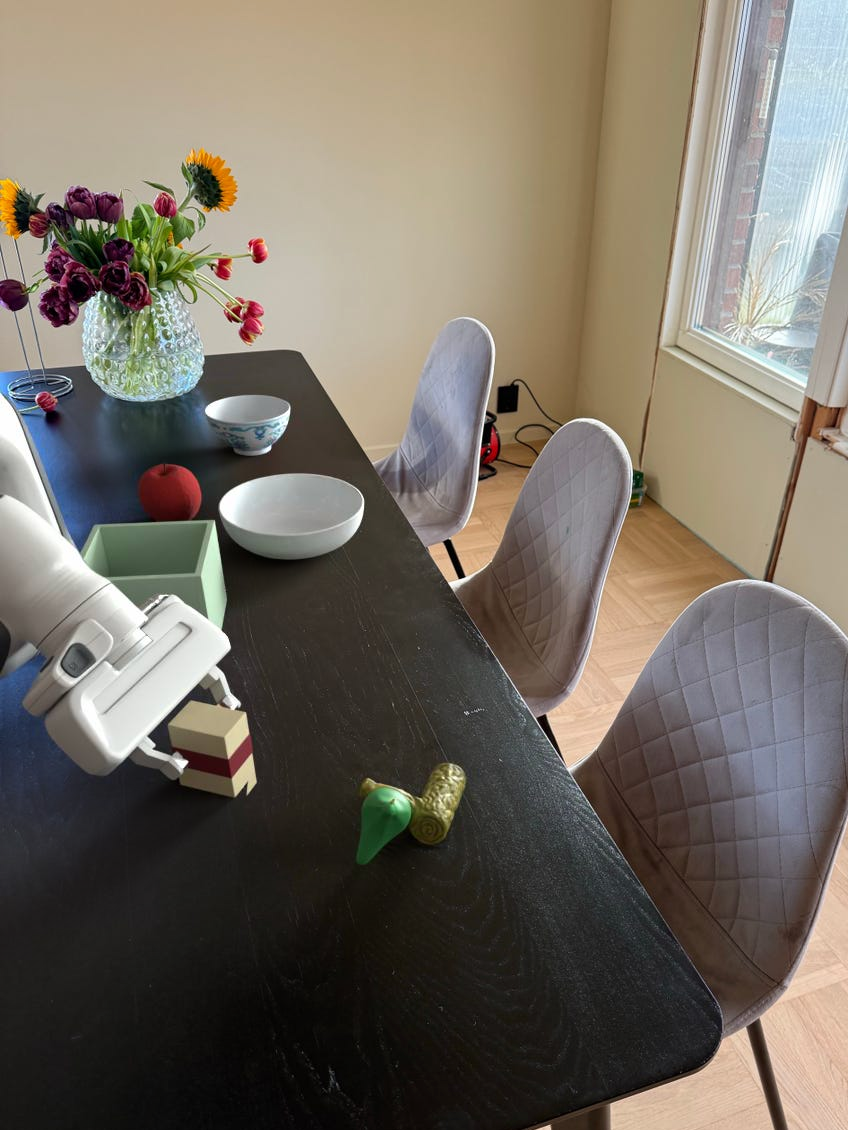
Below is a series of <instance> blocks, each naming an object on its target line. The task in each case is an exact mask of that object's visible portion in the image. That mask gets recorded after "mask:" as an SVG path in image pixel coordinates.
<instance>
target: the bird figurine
mask: <svg viewBox="0 0 848 1130" xmlns="http://www.w3.org/2000/svg"><path fill="white" fill-rule="evenodd" d="M466 787H467V776H466V773H465V771H464V770H463V769H462V768H461V766H459V765H457V764H453V763H452V762H451V763H450V762H443V763H440V764H438V765H436V766H435V767H434V768H433V770H432V772H431V773H430V774H429V778H428V780H427V783H426V784H425V786H424V789H423V791H422V793H421V796H420V797H418V796H414V795H411V794H410V793H409V792H406V791H405V790H404V789H401V788H398V787H395V786H391V785H388V784H384V783H377V782H376V781H374V780H372V779H371V778H368V777H367V778H364V780H363V781H362V783H361V785H360V788H359V792H358V793H359V797H360V798H362V799H364V801H363V803H362V806H361V812H360V814H361V829H360V836H359V842H358V845H357V852H356V858H355V862H356V863H357V864H358V865H360V866H365V865H366V864H368V863H370V861H371V860H372V859H373V858H374V857H375V856H376V855H377V854H378V853H379V852H380V851H381V849H382V848H384V846H385V845H387V844H388V843H389V842H390V841H392V839H394V838H395V837H396V836H397V835H399V834H400V833H402V832H403V831H404V830H405V829H406V828H407V827H408V828H409V831H410V833H411V835H412V836H413V837H414V838H415V839H416V840H418V842H420V843H421V844H424V845H430V846H432V845H436V844H438V843H440V842H442V841H443V840H444V839H446V836H447V832H448V831H449V829H450V827H451V824H452V821H453V820H454V816H455V812H456V810H457V809H458V807H459V805H460V800H461V799H462V796H463V793H464V791H465V788H466Z"/></svg>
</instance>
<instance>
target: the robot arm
mask: <svg viewBox="0 0 848 1130" xmlns="http://www.w3.org/2000/svg"><path fill="white" fill-rule="evenodd" d="M80 553H81V552H80V551H79V549H78V548H77V546H76V544H75V542H74V541H73V538H72V537H71V535H70V532H69V530H68V527H67V525H66V523H65V520H64V518H63V514H62V512H61V509H60V507H59V504H58V502H57V499H56V496H55V493H54V491H53V489H52V486H51V482H50V480H49V477H48V475H47V471H46V469H45V467H44V464H43V461H42V459H41V457H40V454H39V451H38V449H37V446H36V444H35V441H34V438H33V437H32V434H31V432H30V430H29V427H28V425H27V423H26V421H25V419H24V417H23V415H22V414H21V412H20V411H19V409H18V408H17V406H16V405H15V403H14V402H13V401H12V400H11V399H10V398H9V397H8V396H7V395H6V394H4V393H2V392H1V391H0V681H1V680H3V679H5V678H6V677H8V676H10V675H11V674H12V673H13V672H15V671H17V670H19V668H21V667H22V666H24V665H26V663H28V662H30V661H31V660H33V659H35V658H36V657H37V656H38V655H40V654H41V655H42V656H43V657H44V658H45V660H44V661H43V664H42V666H41V668H40V669H39V671H38V673H37V675H36V676H35V678H34V680H33V681H32V683H31V685H30V687H29V688H28V690H27V692H26V694H25V695H24V697H23V699H22V702H21V703H22V704H21V705H22V707H23V708H24V710H25V711H26V712H27V713H29V714H30V715H32V716H33V717H36V718H41V717H43V716H45V718H44V727H45V730H46V732H47V734H48V735H49V737H50V738H51V739H52V741H53V742H54V743H55V744H56V745H57V746H58V747H59V749H61V751H63V752H64V753H65V754H66V755H67V757H68V758H70V759H71V760H72V761H73V762H74V763H75V764H76V765H77V766H78V767H80V769H82V770H83V771H84V772H85V773H87V774H88V775H90V776H91V775H92V776H97V777H107V776H108V775H109V774H110V773H112V772H113V771H114V770H115V769H117V767H119V765H121V764H122V763H123V762H124V761H125V760H126V759H127V758H129V759H130V760H131V761H132V762H133V763H134V764H135V765H138V766H143V767H147V768H150V769H155V770H159V771H161V773H163V774H164V775H165V776H166V778H168V779H169V780H171V781H175V780H177V779H179V776H181V774H182V773H183V772H184V771H185V770H186V768H187V767H188V766H189V762H188V761H187V760H186V759H183V757H182V755H181V754H180V753H178V752H177V751H176V752H175V753H174V754H173V753H172V754H171V755H170V754H167V753H164V752H161V751H158V750H155V749H154V748H155V747H156V743H155V742H154V741H152V740H151V739H150V737H148V736H149V735H150V734H151V733H152V732H153V731H154V730H155V728H157V727H158V725H160V724H161V722H162V721H163V720H164V719H165V718H166V717H167V716H169V714H170V713H171V712H172V711H173V710H174V709H175V708H176V707H177V706H178V705H179V704H180V703H181V702H182V701H183V700H184V699H185V697H186V696H187V695H188V694H189V693H190V692H191V691H192V690H193V689H194V688H195V687H196V686H198V685H199V686H200V687H202V688H203V689H204V690H207V689H209V690H210V692H211V694H212V697H213V698H214V700H215V703H216V704H215V705H214V706H219V707H223V708H228V709H233V710H237V711H239V710H238V709H240V708H241V706H242V703H241V701H240V700H239V699H238V698H237V697H236V696H234V694H232V693H231V690H230V687H229V684H228V682H227V678H226V676H225V673H224V672H223V671H222V670H221V669H220V668H219V667H218V666H217V665H218V664H219V662H220V661H221V660H222V659H223V658H224V657H225V656H226V655H227V654H228V653H229V652H230V650H231V649H232V646H231V643H230V640H229V637H228V636H227V635H226V633H224V632H223V631H222V630H220V629H219V628H217V627H216V626H215V625H214V624H213V623H211V622H210V621H209V620H208V619H206V618H205V617H204V616H203V615H201V614H200V613H199V612H197V611H196V610H194V609H193V608H191V607H190V606H188V605H186V604H184V603H183V602H182V601H181V600H180V599H179V598H178V597H177V596H175V595H170V594H159V593H156V594H154V595H152V596H151V597H150V598H149V599H148V600H147V601H146V602H145V603H144V604H142V605H140V606H139V607H138V608H137V607H136V606H135V605H134V604H133V603H132V602H131V601H130V600H129V599H128V598H127V597H126V596H125V595H124V594H123V593H122V592H121V591H120V590H119V589H118V588H116V587H115V586H114V585H113V584H112V583H111V582H110V581H109V580H108V579H106V578H104V577H102V576H101V575H99V574H97V573H95V572H94V571H93V570H91V569H90V568H89V567H88V565H87V564H86V562H85V560H84V559H83V557H82V556H81V554H80ZM163 598H166V599H165V600H164V601H163ZM162 601H163V602H162ZM161 602H162V603H161ZM153 608H155V609H153ZM152 609H153V610H152ZM151 610H152V611H151ZM150 611H151V612H150ZM149 612H150V613H149Z"/></svg>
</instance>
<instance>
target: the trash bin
mask: <svg viewBox="0 0 848 1130" xmlns="http://www.w3.org/2000/svg"><path fill="white" fill-rule="evenodd" d="M219 546H220V545H219V541H218V532H217V527H216V521H215V519H205V520H190V521H176V522H158V521H155V522H153V521H151V522H130V523H129V522H127V523H105V524H103V523H102V524H94V525H93V526H92V529H90V533H89V535H88V536H87V539H86V540H85V543H84V545H83V546H82V549H81V551H80V552H79V553H80V554H81V556H82V557H83V559H84V560H85V562H86V564H87V565H88V567H89V568H90V569H91V570H93V571H94V572H95V573H97V574H99V575H101V576H102V577H104V578H106V579H108V580H109V581H110V582H111V583H112V584H113V585H114V586H115V587H116V588H118V589H119V590H120V591H121V592H122V593H123V594H124V595H125V596H126V597H127V598H128V599H129V600H130V601H131V602H132V603H133V604H134V605H135V606H136V607H137V608H138V607H139V606H140V605H142V604H144V603H145V602H146V601H147V600H148V599H149V598H150V597H151V596H152V595H154V594H156V593H159V594H170V595H175V596H177V597H178V598H179V599H180V600H181V601H182V602H183V603H184V604H186V605H188V606H190V607H191V608H193V609H194V610H196V611H197V612H199V613H200V614H201V615H203V616H204V617H205V618H206V619H208V620H209V621H210V622H211V623H213V624H214V625H215V626H216V627H217V628H219V629H220V630H221V631H222V629H223V623H224V618H225V613H226V608H227V602H228V598H227V597H228V596H227V592H226V586H225V585H226V584H225V579H224V578H225V577H224V572H223V565H222V559H221V553H220V547H219ZM165 599H166V598H163V601H164V600H165ZM163 601H162V602H163ZM162 602H161V603H162ZM153 609H155V608H153ZM153 609H152V610H153ZM152 610H151V611H152ZM151 611H150V612H151ZM150 612H149V613H150Z"/></svg>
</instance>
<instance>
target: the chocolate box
mask: <svg viewBox="0 0 848 1130" xmlns="http://www.w3.org/2000/svg"><path fill="white" fill-rule="evenodd" d="M167 730H168V734H169V739H170V742H171V743H170V744H171V751H172V755H173V754H174V753H175V752H176V751H177V752H178V753H180V754H181V755H182V757H183V759H186V760H187V761H188V762H189V766H188V767H187V768H186V770H185V771H184V772H183V773H182V774H181V776H179V777H178V780H179V784H180V785H181V786H185V787H188V788H193V789H197V790H201V791H205V792H210V793H213V794H218V795H222V796H226V797H231V798H234V799H235V798H236V797H237V796H238V794H239V793H240V792H241V790H242V789H243V788H244V787H245V785H246V784H247V786H246V796H248V795H249V794H250V792H251V791H252V789H253V788H254V787H255V785H256V784H257V782H258V781H257V777H256V776H257V775H256V769H255V762H254V755H253V752H254V751H253V743H252V737H251V733H250V730H249V724H248V717H247V712H245V711H241V710H233V709H228V708H223V707H219V706H215V705H213V704H210V703H204V702H200V701H195V700H190V701H188V702H187V704H185V706H184V707H182V708H181V710H180V711H179V712H178V713H177V714H176V715H175V716H174V717H173V718H172V719H171V720H170V721H169V723H168V724H167Z"/></svg>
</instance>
